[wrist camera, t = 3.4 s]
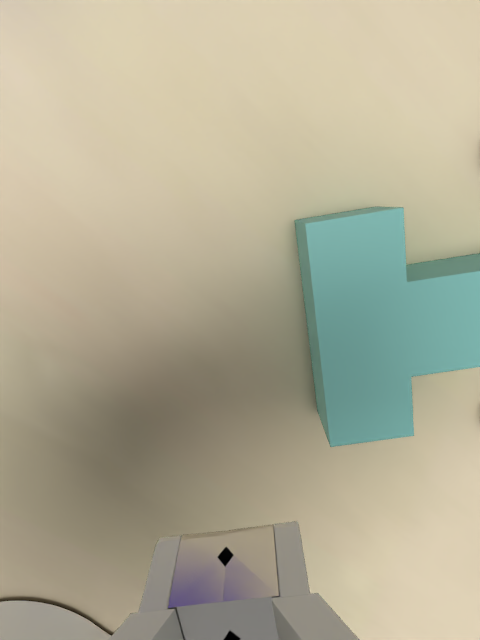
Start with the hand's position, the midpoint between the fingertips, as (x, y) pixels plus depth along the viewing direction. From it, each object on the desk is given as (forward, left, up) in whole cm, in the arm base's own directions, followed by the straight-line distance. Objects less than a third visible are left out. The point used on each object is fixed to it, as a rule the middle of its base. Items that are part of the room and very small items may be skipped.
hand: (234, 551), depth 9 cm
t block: (0, -11, -16) cm, 19 cm away
